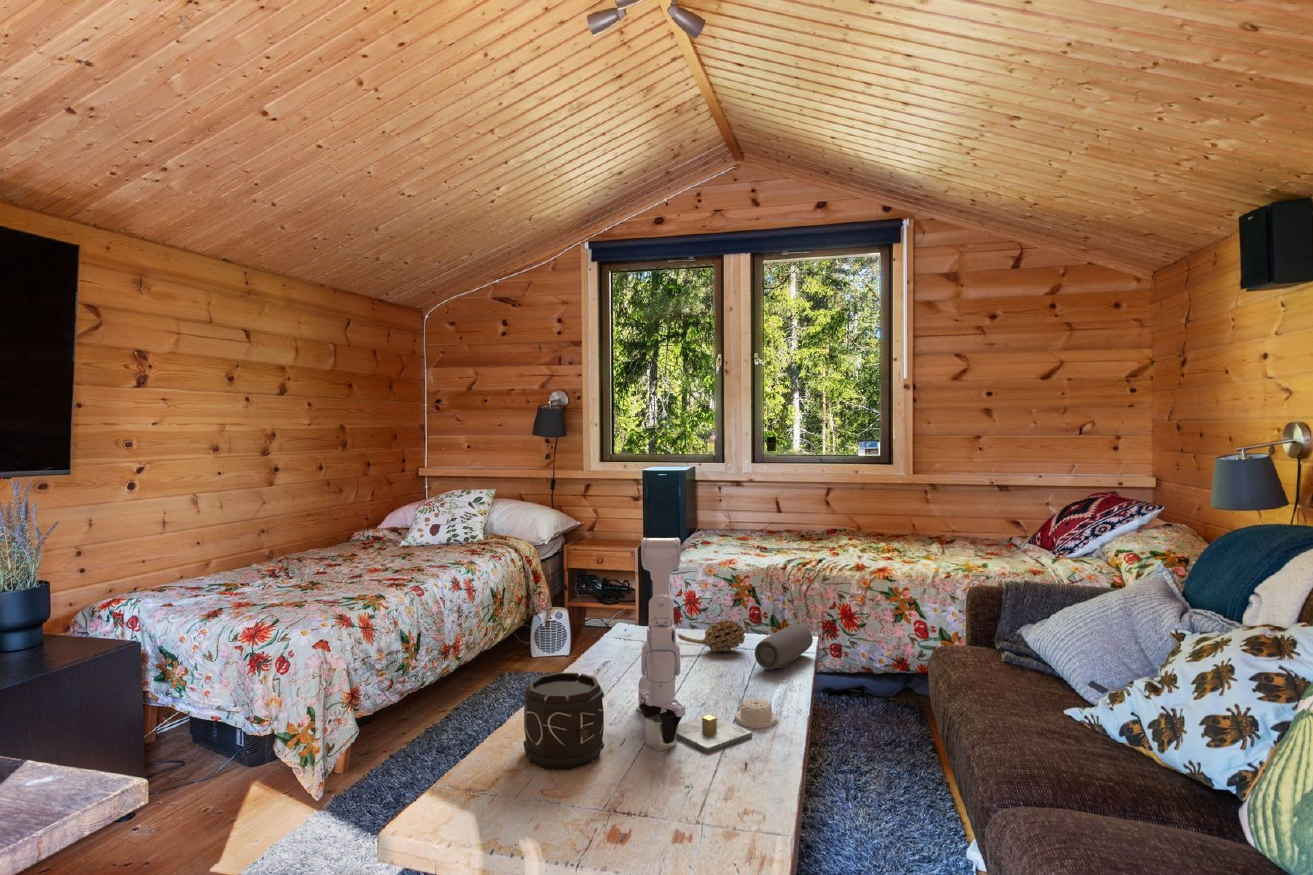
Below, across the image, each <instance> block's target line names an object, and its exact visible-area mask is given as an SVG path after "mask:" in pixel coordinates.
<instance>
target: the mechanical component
mask: <svg viewBox="0 0 1313 875" xmlns="http://www.w3.org/2000/svg"><path fill="white" fill-rule="evenodd" d="M777 720H778V718H777V714H776V713H775V712H774V711H772V703H770V702H769V701H768V700H764V699H761V698H760V699H759V698H752V699H751V698H750V699H745V701H741V702H740V710H738V711H736V713H735V721H736V723H738V724H739V725H741V726H744V727H747V728H751V729H753V728H754V729H765V728H770V727H773V726H775V725H776V724H777Z"/></svg>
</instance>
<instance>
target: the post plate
mask: <svg viewBox="0 0 1313 875" xmlns="http://www.w3.org/2000/svg"><path fill="white" fill-rule="evenodd" d="M751 738H753V732H752V731H750V730H748V729H746V728H744V727H742V726H740V725H737V724H735V723H733V722H730V721H728V720H726V719H723V718H722V717H719V716H718V715H717V716H716V715H714V714H712V713H710V714H706V715H704V716H701V717H698V718H694V719H690V720H688V721H685V722H683V723H679V724H678V727H677V740H679V741H682V742H683V743H686V745H687V744H688V745H689V746H691V747H693V748H695V749H697V750H699V751H701V752H703V753H705V754H710V753H713V752H716V751H718V750H721V749H724V748H726V747H730V746H732V745H734V744H737V743H741V742H743V741H745V740H749V739H751Z"/></svg>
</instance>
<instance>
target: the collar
mask: <svg viewBox="0 0 1313 875" xmlns="http://www.w3.org/2000/svg"><path fill="white" fill-rule="evenodd" d="M659 714H660V713H659ZM659 714H656V715H653V716H650V717H646V720H645V745H646V746H649V747H650V748H652V749H654V750H656V751H658V752H662V751H664V750H668V749H670V748H674V747H676V746H677V745H678V739H677V729H676V733H675V737H674V741H673V742H672V743H669V744H665V742H664V735H663V726H662V722H661V719H660V717H659Z"/></svg>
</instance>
